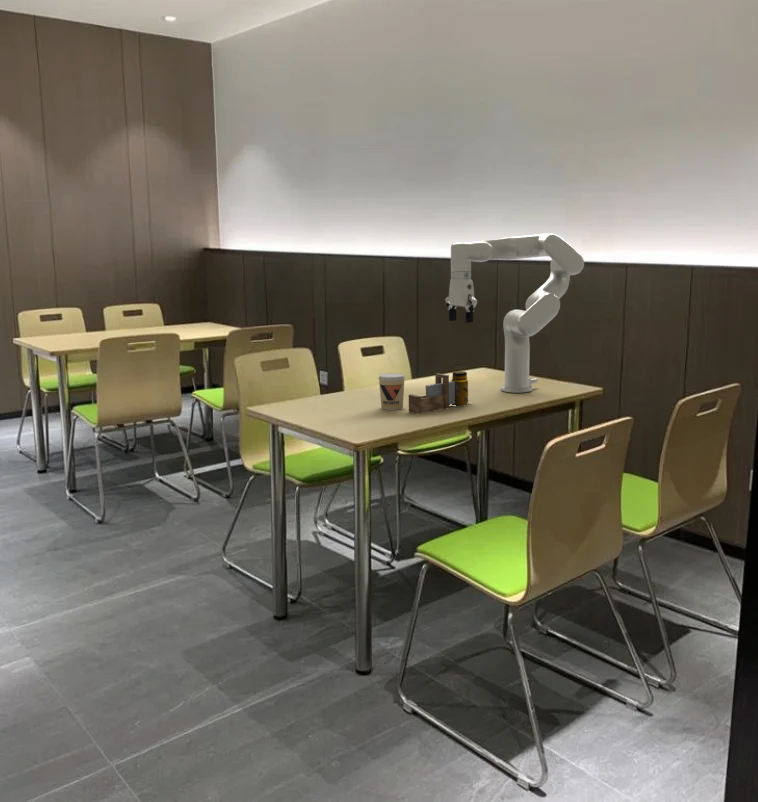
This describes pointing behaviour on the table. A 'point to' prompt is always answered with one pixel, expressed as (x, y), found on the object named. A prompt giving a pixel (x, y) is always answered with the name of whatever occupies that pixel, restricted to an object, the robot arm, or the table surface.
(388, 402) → the coffee cup
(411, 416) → the table surface
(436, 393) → the gate
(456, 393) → the condiment
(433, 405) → the brown l-shaped block
